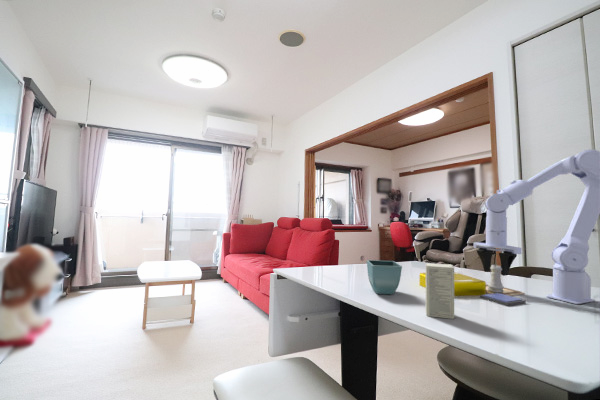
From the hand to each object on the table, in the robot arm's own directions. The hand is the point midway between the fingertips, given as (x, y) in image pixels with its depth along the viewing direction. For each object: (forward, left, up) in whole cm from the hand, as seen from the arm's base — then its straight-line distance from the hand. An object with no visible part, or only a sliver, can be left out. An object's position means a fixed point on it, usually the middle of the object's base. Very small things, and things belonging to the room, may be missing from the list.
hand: (495, 273), depth 100 cm
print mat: (0, 0, -6) cm, 6 cm away
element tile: (+13, -6, -6) cm, 16 cm away
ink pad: (+9, +8, -6) cm, 13 cm away
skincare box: (+37, +11, -6) cm, 39 cm away
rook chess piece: (+3, +2, -5) cm, 6 cm away
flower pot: (+37, -10, -6) cm, 39 cm away
